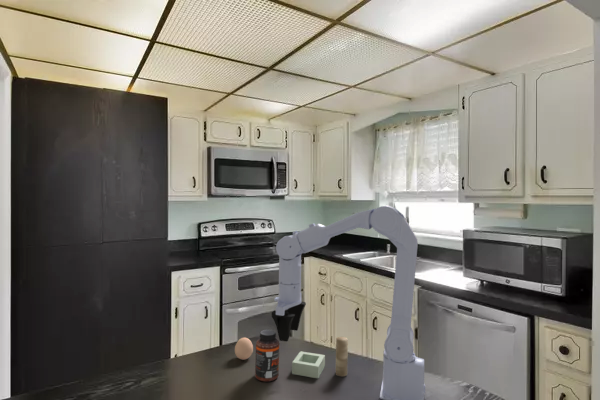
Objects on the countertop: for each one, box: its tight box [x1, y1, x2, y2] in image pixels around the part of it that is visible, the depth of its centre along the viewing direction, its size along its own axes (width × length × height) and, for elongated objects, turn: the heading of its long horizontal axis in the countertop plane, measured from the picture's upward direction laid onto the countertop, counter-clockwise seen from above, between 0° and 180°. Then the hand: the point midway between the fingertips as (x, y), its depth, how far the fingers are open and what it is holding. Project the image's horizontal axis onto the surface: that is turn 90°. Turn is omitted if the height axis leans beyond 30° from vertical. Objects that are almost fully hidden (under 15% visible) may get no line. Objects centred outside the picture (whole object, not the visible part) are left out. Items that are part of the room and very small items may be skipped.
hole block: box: [291, 350, 326, 379], centre depth 94 cm, size 7×7×3 cm
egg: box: [234, 337, 254, 361], centre depth 99 cm, size 5×5×6 cm
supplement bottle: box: [254, 329, 280, 382], centre depth 90 cm, size 6×6×11 cm
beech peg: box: [335, 336, 349, 377], centre depth 92 cm, size 3×3×9 cm
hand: (289, 334), depth 91 cm, fingers open, 7 cm apart
